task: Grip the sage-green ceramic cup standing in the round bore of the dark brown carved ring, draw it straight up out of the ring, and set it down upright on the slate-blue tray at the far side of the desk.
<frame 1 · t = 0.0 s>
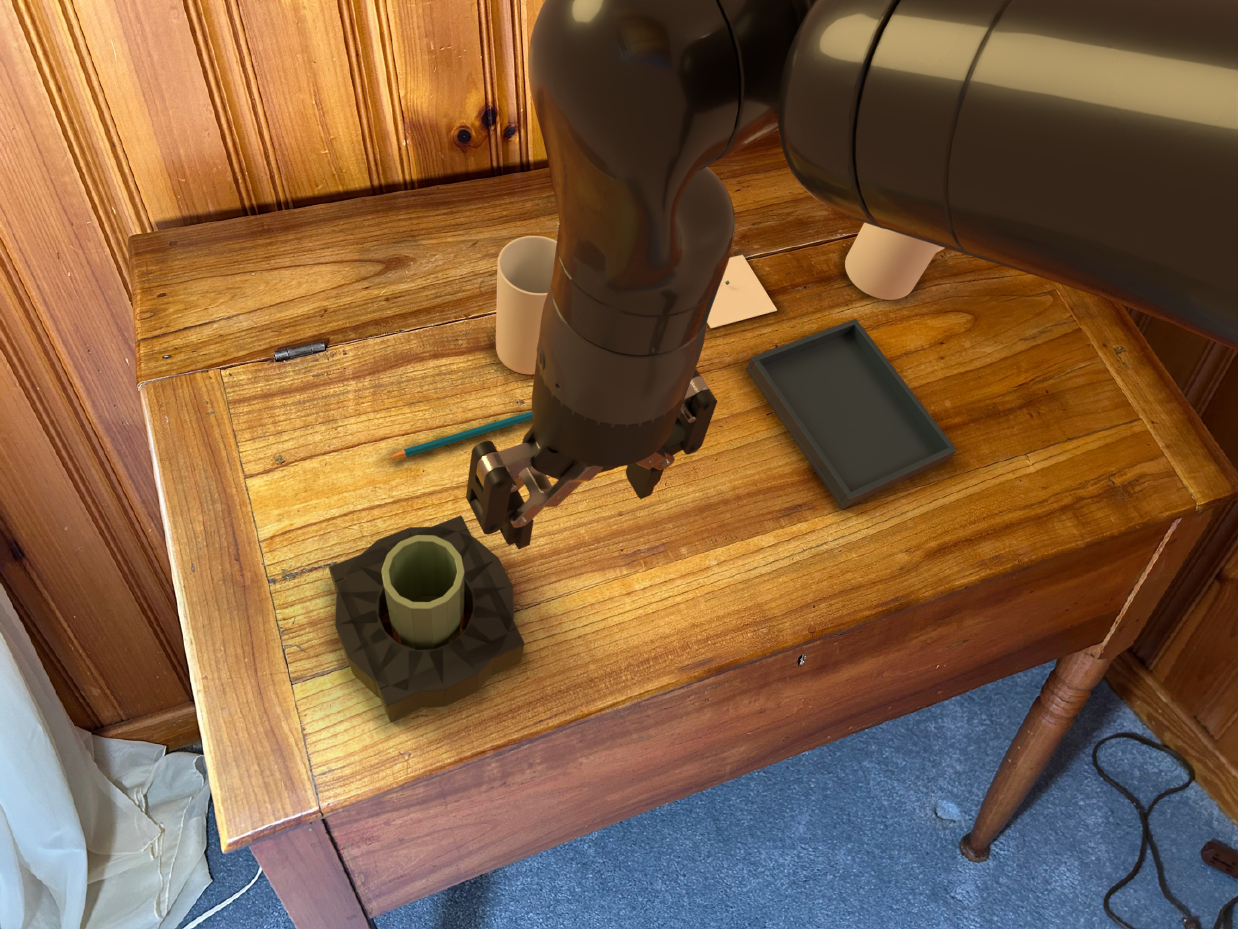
hand: (578, 509, 58), 21 cm above the table, tool pointing down, fingers open, 8 cm apart
cup: (425, 600, 70), in the dark brown carved ring
dark brown carved ring: (427, 625, 74), on the table
mug: (542, 344, 90), on the table
mug 2: (893, 268, 103), on the table
pencil: (477, 434, 84), on the table
tray: (845, 414, 91), on the table
coaster: (726, 291, 97), on the table
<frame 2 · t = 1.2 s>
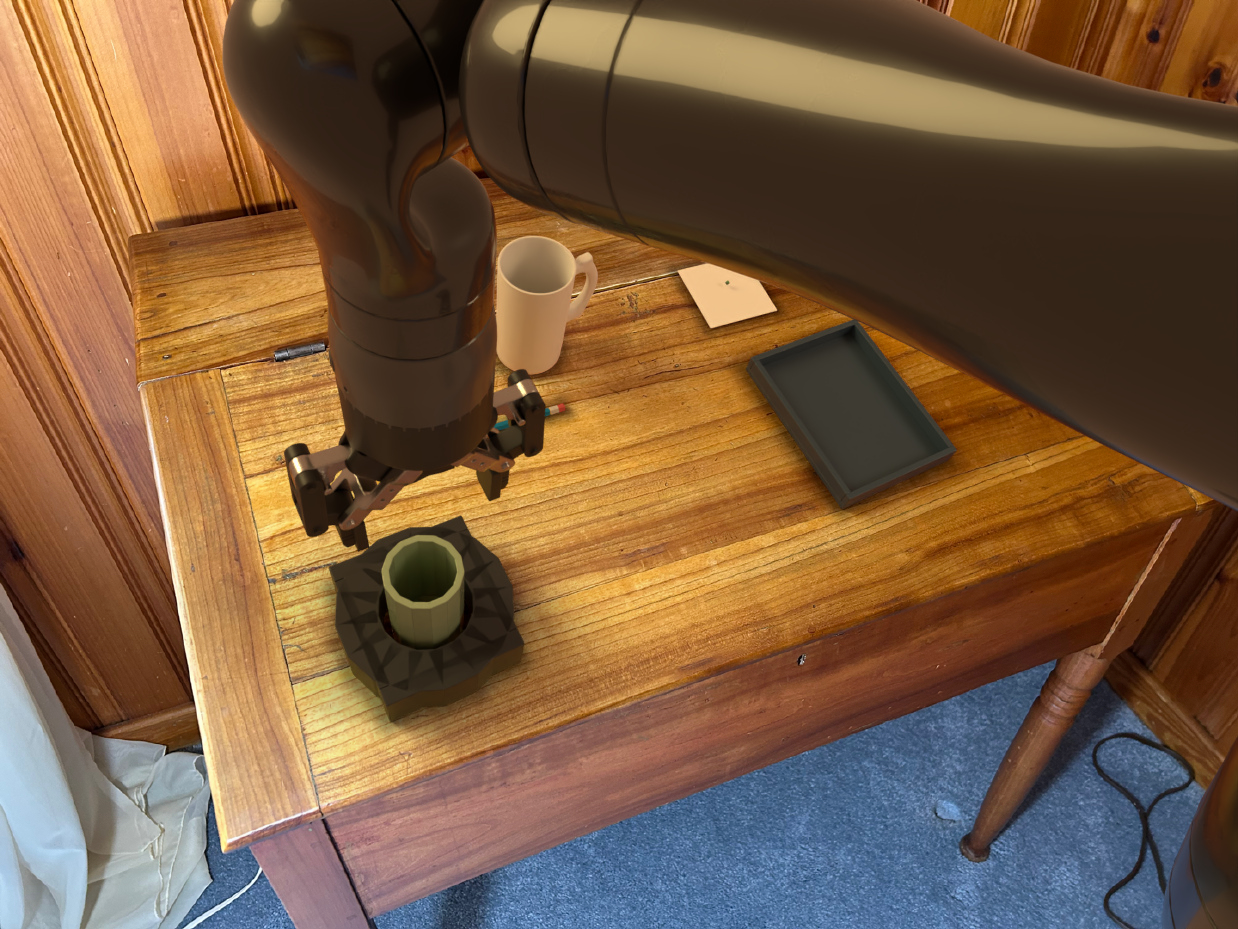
hand: (425, 511, 57), 20 cm above the table, tool pointing down, fingers open, 8 cm apart
nothing on the table moved.
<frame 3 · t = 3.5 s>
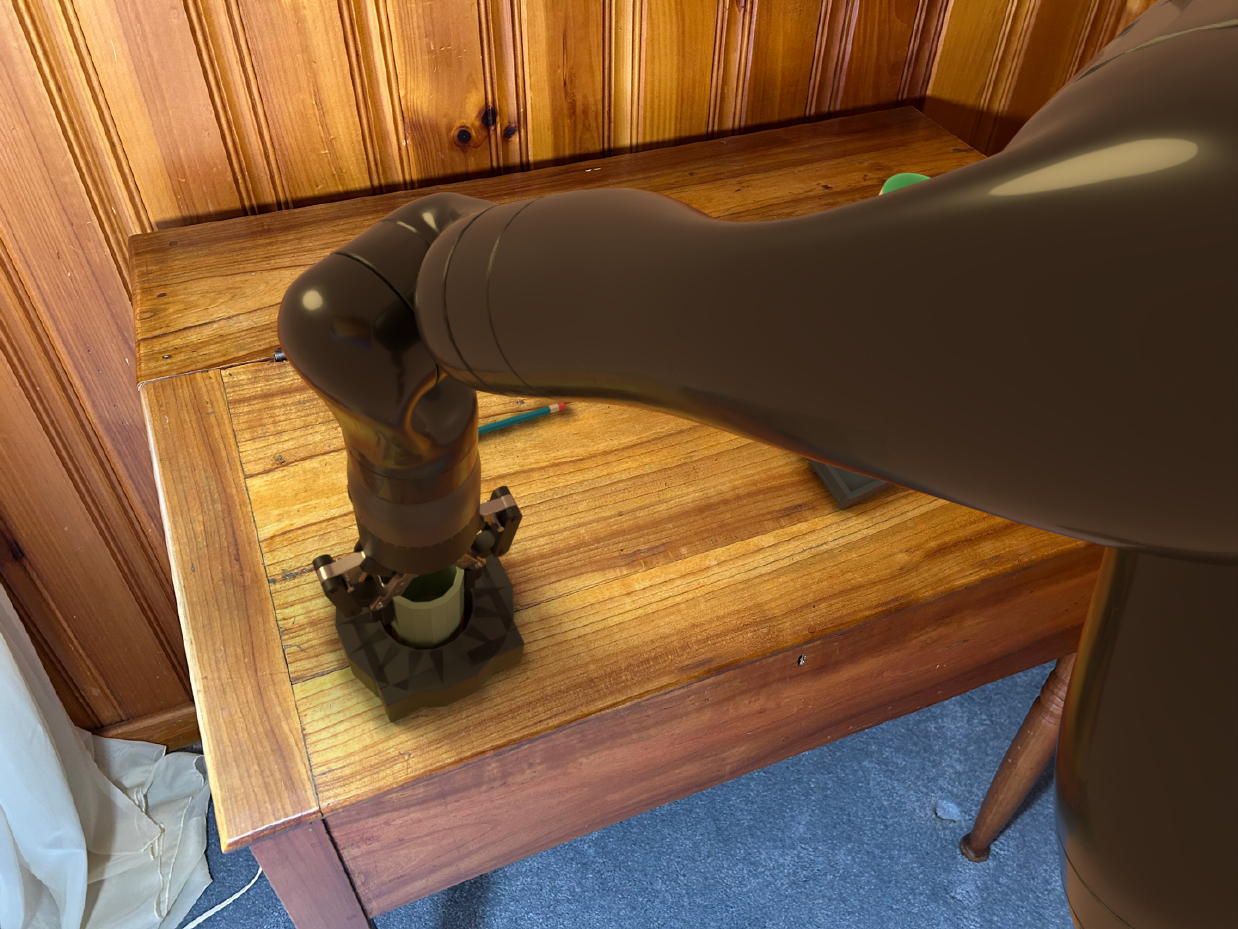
hand: (425, 594, 69), 7 cm above the table, tool pointing down, fingers closed on cup, 5 cm apart
cup: (425, 600, 70), in the dark brown carved ring, touching gripper
everything else where it was.
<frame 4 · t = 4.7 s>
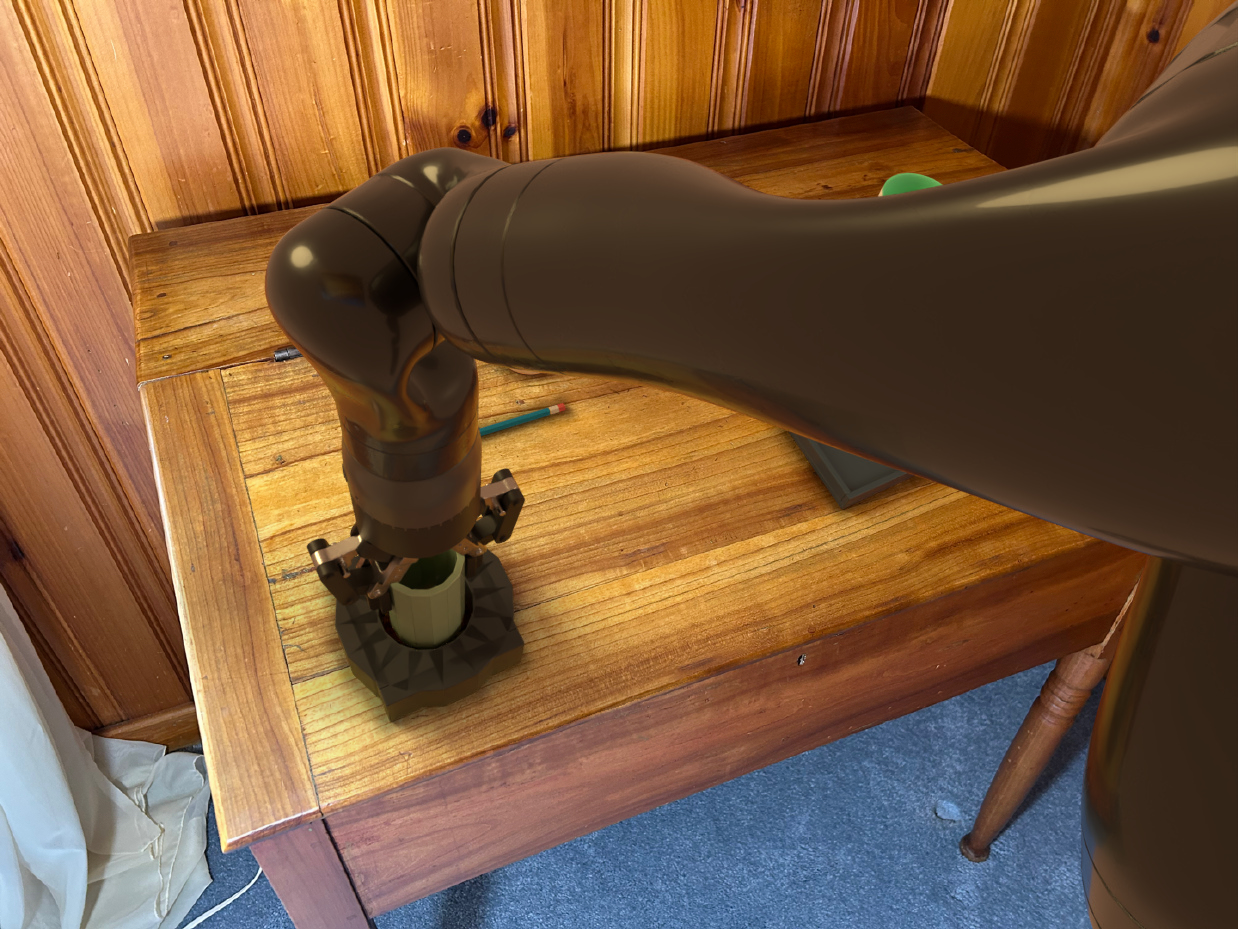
hand: (424, 582, 67), 9 cm above the table, tool pointing down, fingers closed on cup, 5 cm apart
cup: (425, 588, 67), point 8 cm above the table, touching gripper
everything else where it was.
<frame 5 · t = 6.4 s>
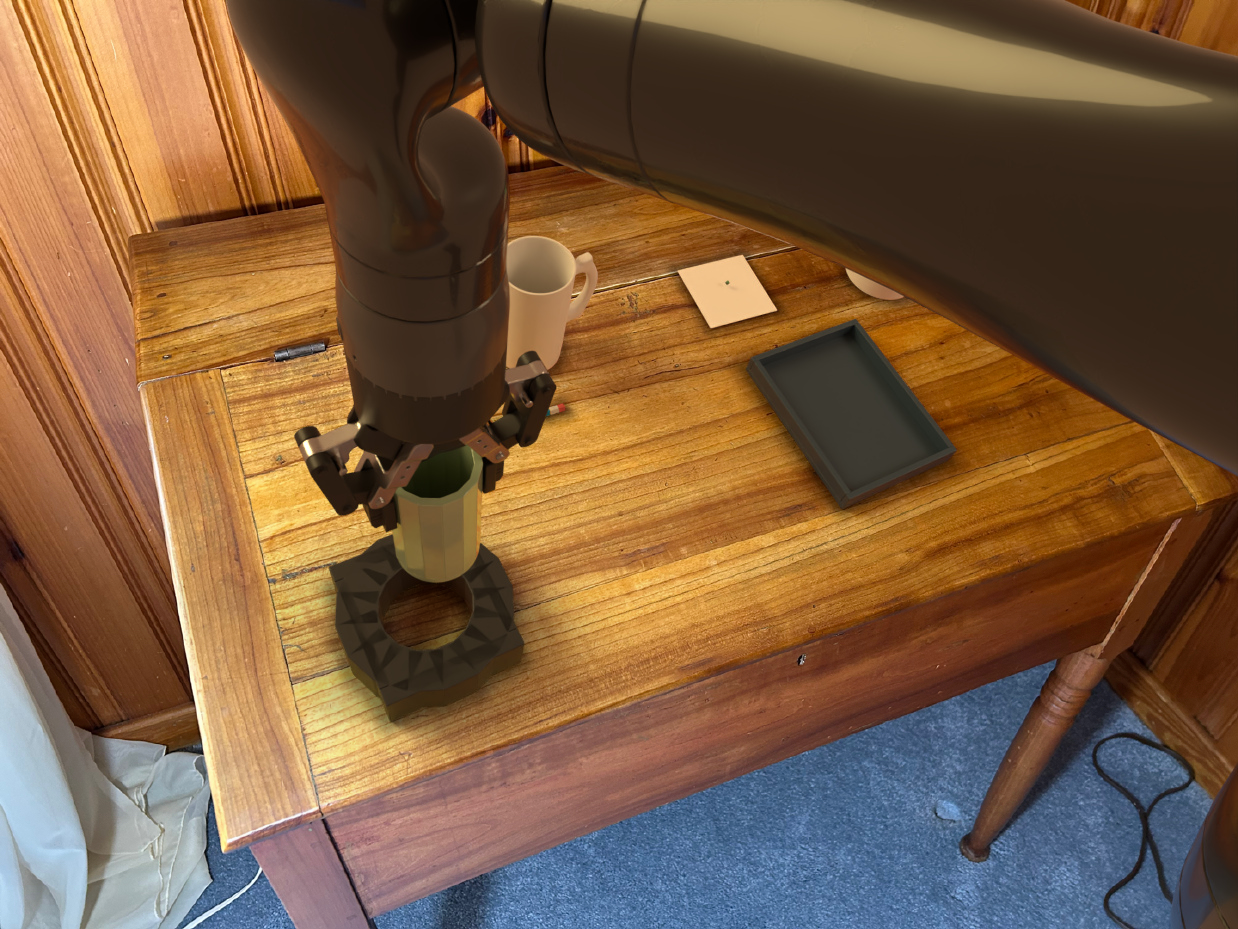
hand: (435, 498, 57), 21 cm above the table, tool pointing down, fingers closed on cup, 5 cm apart
cup: (435, 506, 57), point 20 cm above the table, touching gripper
everything else where it was.
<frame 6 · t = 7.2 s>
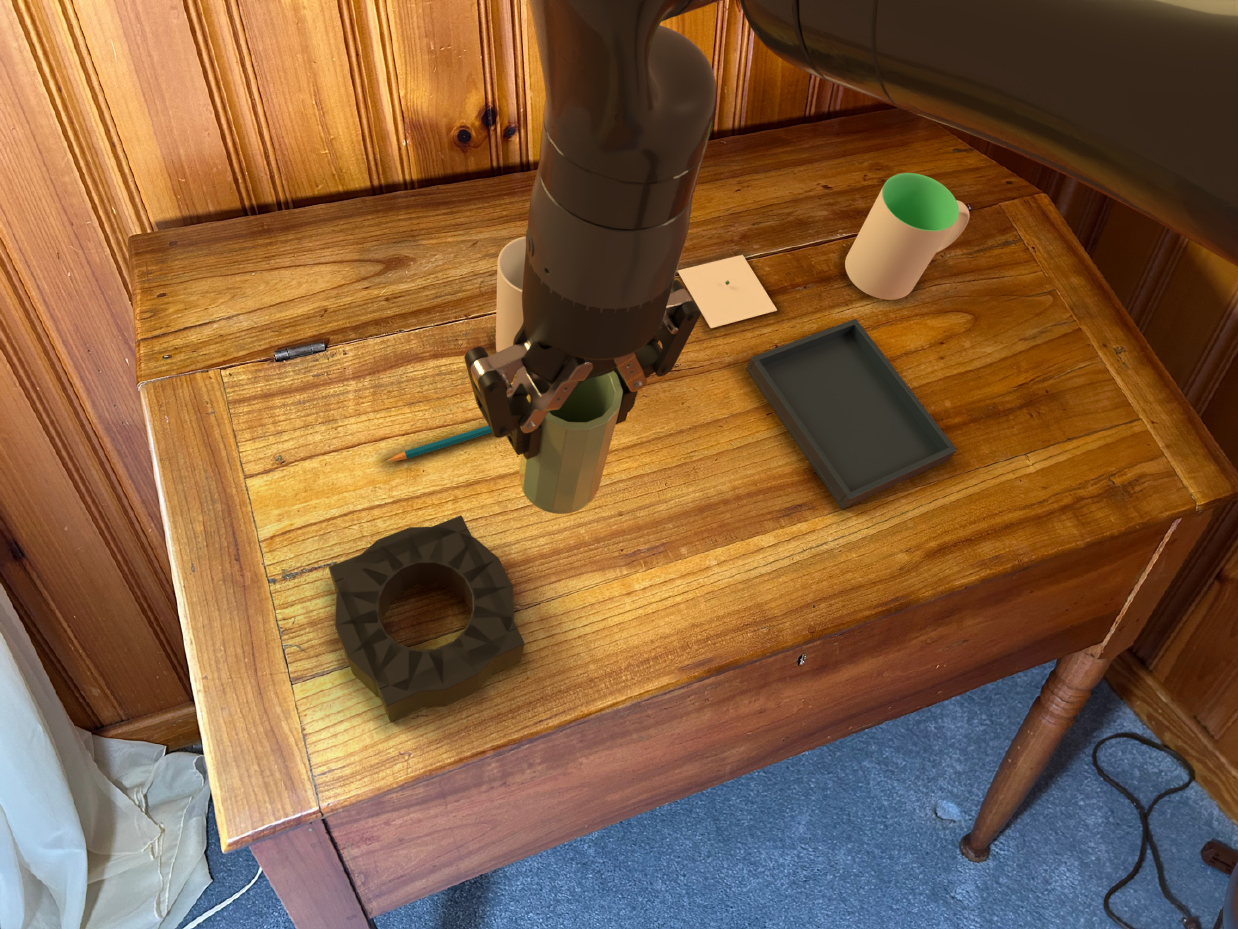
hand: (569, 428, 59), 22 cm above the table, tool pointing down, fingers closed on cup, 5 cm apart
cup: (567, 437, 60), point 21 cm above the table, touching gripper
everything else where it was.
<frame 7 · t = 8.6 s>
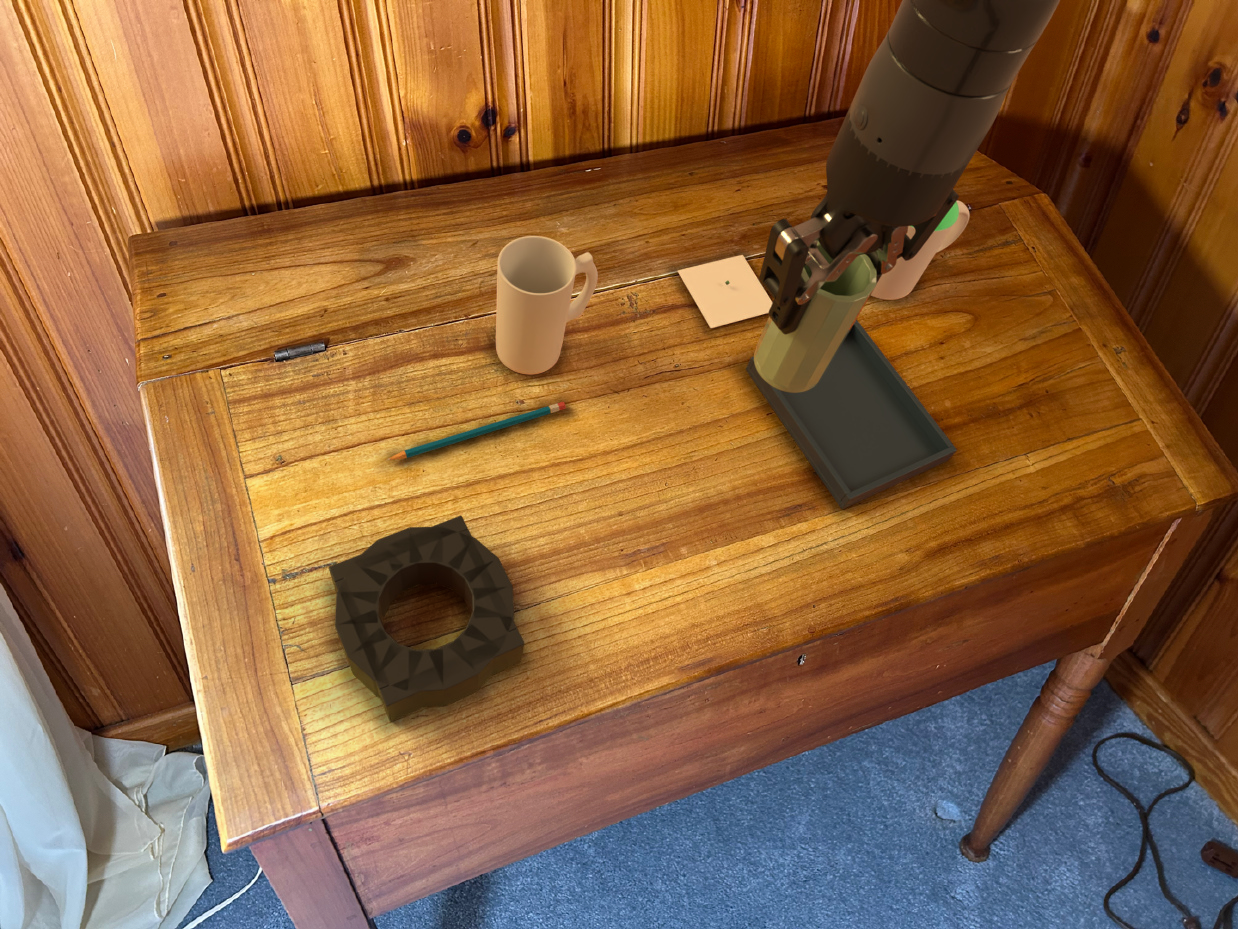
hand: (816, 310, 67), 23 cm above the table, tool pointing down, fingers closed on cup, 5 cm apart
cup: (811, 319, 68), point 22 cm above the table, touching gripper
everything else where it was.
when the fingers open (7 cm above the table, at t = 13.6 s): cup stays where it is, resting on tray.
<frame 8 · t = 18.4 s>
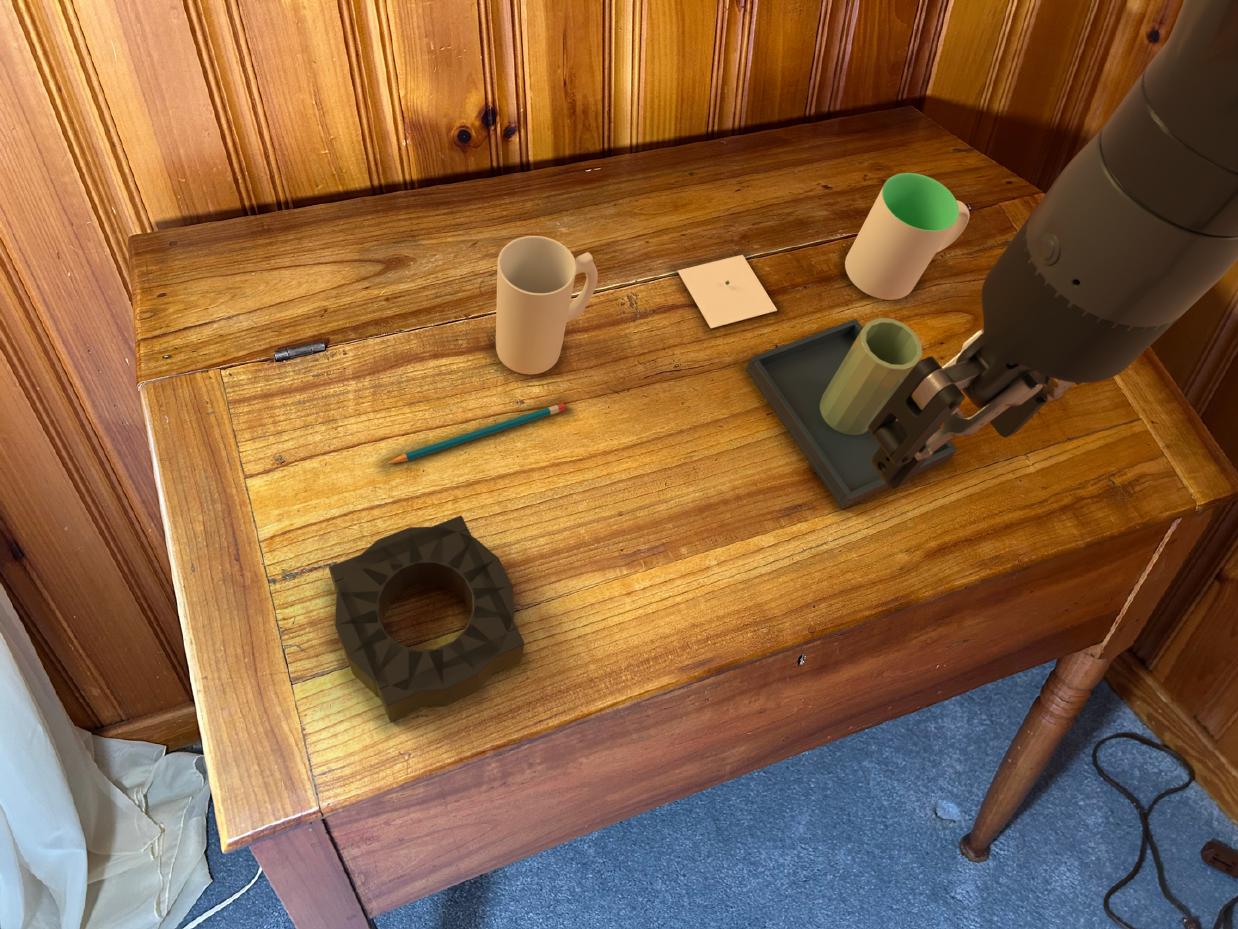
hand: (943, 448, 53), 30 cm above the table, tool pointing down, fingers open, 8 cm apart
cup: (868, 379, 86), in the tray, point 6 cm above the table
everything else where it was.
at the end: cup inside the target area in the tray (0.0 cm from its centre), point 6.1 cm above the tray's base; cup tilted 0°; the gripper is holding nothing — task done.
